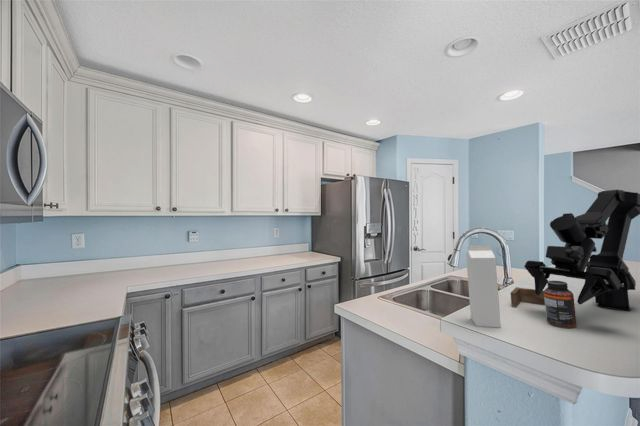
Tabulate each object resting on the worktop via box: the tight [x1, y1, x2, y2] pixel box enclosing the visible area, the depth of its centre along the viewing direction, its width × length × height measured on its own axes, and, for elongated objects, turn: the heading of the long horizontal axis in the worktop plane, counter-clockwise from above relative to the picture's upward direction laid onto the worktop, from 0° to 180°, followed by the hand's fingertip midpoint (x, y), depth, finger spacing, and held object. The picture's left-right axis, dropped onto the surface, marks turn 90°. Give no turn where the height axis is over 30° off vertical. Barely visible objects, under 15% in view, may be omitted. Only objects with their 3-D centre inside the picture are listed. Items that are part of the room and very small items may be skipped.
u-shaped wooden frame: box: [510, 286, 545, 308], centre depth 83 cm, size 10×9×4 cm
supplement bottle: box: [543, 280, 577, 329], centre depth 69 cm, size 6×6×11 cm
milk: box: [465, 244, 502, 328], centre depth 73 cm, size 6×6×22 cm
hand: (556, 298), depth 69 cm, fingers open, 9 cm apart
